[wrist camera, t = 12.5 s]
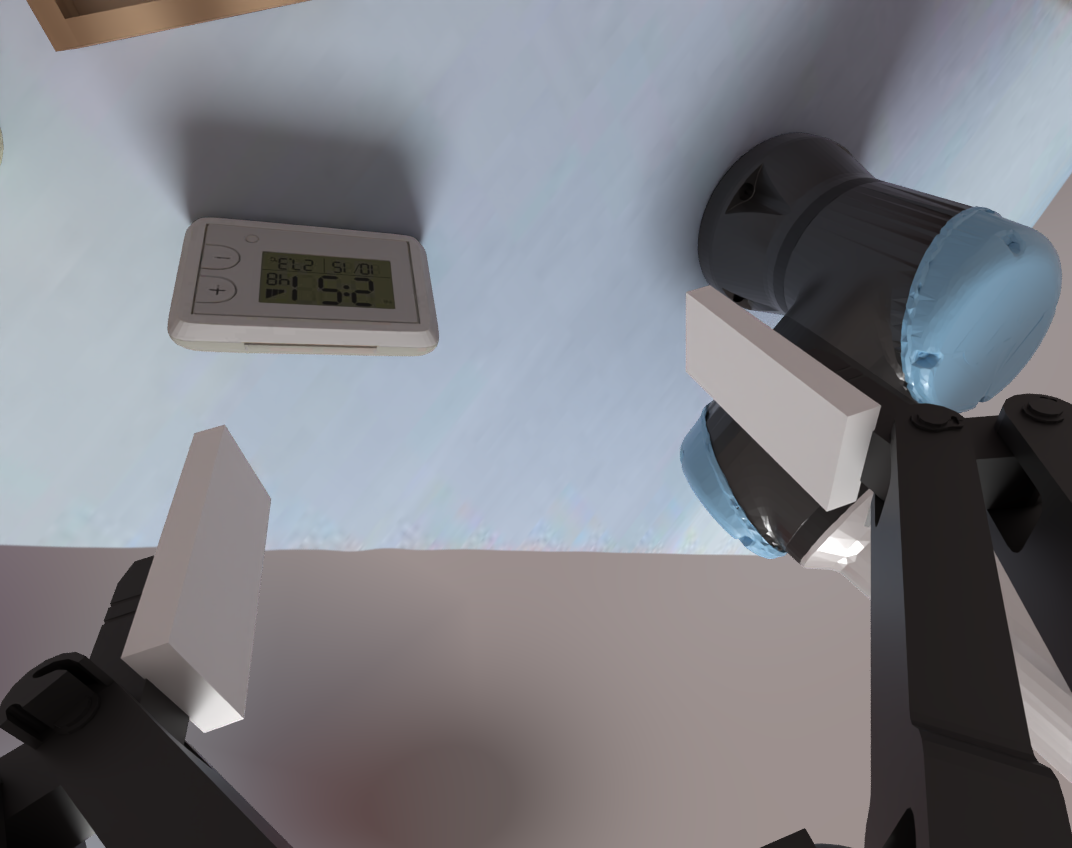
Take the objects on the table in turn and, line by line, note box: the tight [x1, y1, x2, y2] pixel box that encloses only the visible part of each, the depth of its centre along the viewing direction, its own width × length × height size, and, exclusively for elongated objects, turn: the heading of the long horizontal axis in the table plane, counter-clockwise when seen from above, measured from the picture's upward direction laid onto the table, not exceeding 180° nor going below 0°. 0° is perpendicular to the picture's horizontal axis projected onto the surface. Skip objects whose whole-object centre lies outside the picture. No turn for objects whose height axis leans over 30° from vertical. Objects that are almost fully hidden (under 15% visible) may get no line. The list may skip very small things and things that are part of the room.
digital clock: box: [168, 217, 439, 356], centre depth 39 cm, size 16×9×11 cm, turn 68°
